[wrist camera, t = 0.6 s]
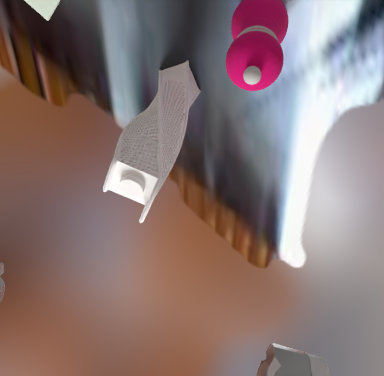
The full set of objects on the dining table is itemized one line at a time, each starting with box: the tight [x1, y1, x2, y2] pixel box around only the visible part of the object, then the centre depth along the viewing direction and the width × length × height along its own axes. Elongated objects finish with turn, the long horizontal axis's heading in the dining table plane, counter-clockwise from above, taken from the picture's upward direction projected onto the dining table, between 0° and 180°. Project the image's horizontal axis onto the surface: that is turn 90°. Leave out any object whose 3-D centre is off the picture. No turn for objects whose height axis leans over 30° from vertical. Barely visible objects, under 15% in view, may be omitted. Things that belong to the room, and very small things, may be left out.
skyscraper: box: [103, 60, 201, 223], centre depth 47 cm, size 8×8×28 cm
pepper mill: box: [226, 0, 288, 91], centre depth 41 cm, size 7×7×20 cm
